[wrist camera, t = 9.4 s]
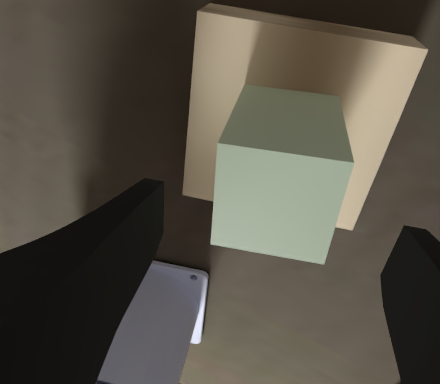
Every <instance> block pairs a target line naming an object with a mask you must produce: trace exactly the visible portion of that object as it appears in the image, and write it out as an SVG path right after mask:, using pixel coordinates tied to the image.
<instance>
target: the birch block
mask: <svg viewBox="0 0 440 384" xmlns="http://www.w3.org/2000/svg"><path fill="white" fill-rule="evenodd" d="M427 52H428V49H427V48H426V47H424V46H423V45H422V44H421V43H420V42H419V41H417V40H416V39H415V38H414V37H413V36H407V35H401V34H395V33H389V32H383V31H377V30H371V29H365V28H359V27H353V26H347V25H341V24H335V23H329V22H322V21H316V20H310V19H304V18H298V17H292V16H286V15H280V14H274V13H268V12H262V11H256V10H250V9H244V8H237V7H231V6H225V5H219V4H213V3H209V4H208V5H206V6H204V7H203V8H201V9H200V10H198V11H197V19H196V32H195V44H194V57H193V69H192V82H191V94H190V106H189V119H188V131H187V144H186V156H185V169H184V181H183V194H182V195H185V196H189V197H194V198H199V199H204V200H209V201H213V202H214V187H215V173H216V158H217V144H218V141H219V139H220V137H221V134H222V132H223V130H224V128H225V126H226V123H227V121H228V119H229V117H230V115H231V112H232V110H233V108H234V106H235V104H236V101H237V99H238V97H239V95H240V93H241V91H242V88H243V86H244V84H247V85H255V86H263V87H271V88H279V89H287V90H295V91H303V92H311V93H319V94H328V95H336V96H339V98H340V103H341V107H342V111H343V116H344V120H345V124H346V129H347V133H348V137H349V142H350V146H351V150H352V155H353V159H354V166H353V169H352V172H351V176H350V179H349V182H348V186H347V189H346V192H345V196H344V199H343V202H342V206H341V209H340V213H339V216H338V219H337V223H336V226H335V227H338V228H343V229H348V230H353V228H354V225H355V223H356V221H357V218H358V216H359V213H360V211H361V209H362V206H363V204H364V202H365V199H366V197H367V194H368V192H369V190H370V187H371V185H372V182H373V180H374V178H375V175H376V173H377V171H378V168H379V166H380V163H381V161H382V159H383V156H384V154H385V152H386V149H387V147H388V144H389V142H390V140H391V137H392V135H393V132H394V130H395V128H396V125H397V123H398V121H399V118H400V116H401V113H402V111H403V109H404V106H405V104H406V102H407V99H408V97H409V94H410V92H411V90H412V87H413V85H414V83H415V80H416V78H417V75H418V73H419V71H420V68H421V66H422V63H423V61H424V59H425V56H426V54H427Z"/></svg>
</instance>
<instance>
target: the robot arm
mask: <svg viewBox="0 0 440 384" xmlns="http://www.w3.org/2000/svg"><path fill="white" fill-rule="evenodd" d="M163 215H164V182H163V181H157V180H152V179H146V178H145V179H143V180H141V181H140V182H138V183H137V184H135V185H134V186H132V187H130V188H129V189H127V190H126V191H124V192H123V193H121V194H120V195H118V196H117V197H115V198H113V199H112V200H110V201H109V202H107V203H106V204H104V205H102V206H101V207H99V208H97V209H96V210H94V211H92V212H90V213H89V214H87V215H85V216H83V217H81V218H80V219H78V220H76V221H74V222H73V223H71V224H69V225H67V226H65V227H63V228H61V229H59V230H57V231H55V232H52V233H50V234H48V235H46V236H44V237H41V238H39V239H37V240H34V241H32V242H30V243H27V244H24V245H22V246H19V247H16V248H13V249H11V250H8V251H5V252H3V253H0V384H179V381H180V377H181V374H182V370H183V367H184V363H185V359H186V356H187V352H188V349H189V345H190V343H194V344H198V343H200V342H201V339H202V331H203V322H204V314H205V305H206V296H207V287H208V278H209V277H208V274H207V273H206V272H205V271H202V270H197V269H192V268H188V267H183V266H178V265H173V264H168V263H163V262H158V261H153V259H154V257H155V254H156V251H157V249H158V246H159V243H160V240H161V238H162V235H163ZM193 275H195V276H193ZM380 276H381V289H382V299H383V307H384V312H385V316H386V321H387V325H388V329H389V333H390V337H391V342H392V346H393V350H394V354H395V358H396V362H397V366H398V370H399V374H400V378H401V383H402V384H440V242H439V241H438V240H437V239H436V238H435V237H434V236H433V235H432V234H431V233H430V232H428V231H427V230H426V229H421V228H416V227H410V226H405V225H404V227H403V229H402V231H401V233H400V235H399V237H398V239H397V241H396V244H395V246H394V248H393V250H392V252H391V254H390V256H389V258H388V260H387V262H386V265H385V267H384V269H383V271H382V273H381V275H380Z"/></svg>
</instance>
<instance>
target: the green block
mask: <svg viewBox="0 0 440 384" xmlns="http://www.w3.org/2000/svg"><path fill="white" fill-rule="evenodd" d="M353 166H354V159H353V155H352V150H351V146H350V142H349V137H348V133H347V129H346V124H345V120H344V116H343V111H342V107H341V103H340V98H339V96H336V95H328V94H319V93H311V92H303V91H295V90H287V89H279V88H271V87H263V86H255V85H247V84H244V86H243V88H242V91H241V93H240V95H239V97H238V99H237V101H236V104H235V106H234V108H233V110H232V112H231V115H230V117H229V119H228V121H227V123H226V126H225V128H224V130H223V132H222V134H221V137H220V139H219V141H218V144H217V158H216V173H215V187H214V202H213V216H212V230H211V244H212V245H218V246H223V247H229V248H234V249H240V250H246V251H251V252H257V253H262V254H268V255H274V256H279V257H285V258H290V259H296V260H302V261H307V262H313V263H318V264H324V263H325V259H326V256H327V253H328V249H329V246H330V243H331V239H332V236H333V233H334V229H335V226H336V223H337V219H338V216H339V213H340V209H341V206H342V202H343V199H344V196H345V192H346V189H347V186H348V182H349V179H350V176H351V172H352V169H353Z"/></svg>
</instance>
